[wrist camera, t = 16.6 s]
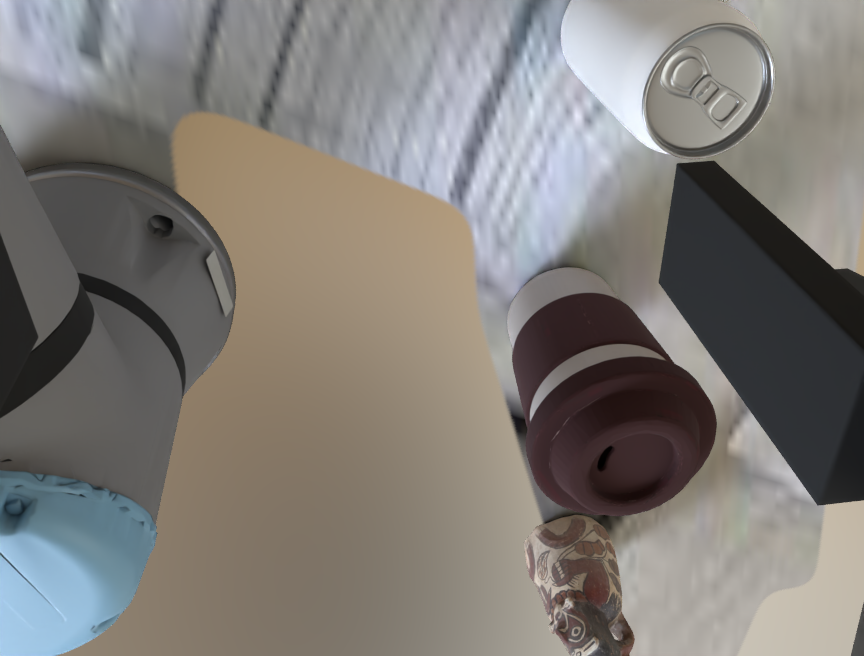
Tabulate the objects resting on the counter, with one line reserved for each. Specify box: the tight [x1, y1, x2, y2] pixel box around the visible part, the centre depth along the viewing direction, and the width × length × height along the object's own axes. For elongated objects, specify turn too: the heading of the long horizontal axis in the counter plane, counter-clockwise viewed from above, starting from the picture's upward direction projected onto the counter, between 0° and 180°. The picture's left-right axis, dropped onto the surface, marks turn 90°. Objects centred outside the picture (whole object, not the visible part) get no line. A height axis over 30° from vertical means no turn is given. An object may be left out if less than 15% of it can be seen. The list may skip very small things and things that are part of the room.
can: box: [561, 0, 775, 159], centre depth 37 cm, size 6×6×12 cm
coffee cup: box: [507, 267, 717, 516], centre depth 46 cm, size 10×10×15 cm
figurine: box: [524, 515, 635, 656], centre depth 60 cm, size 7×7×12 cm
